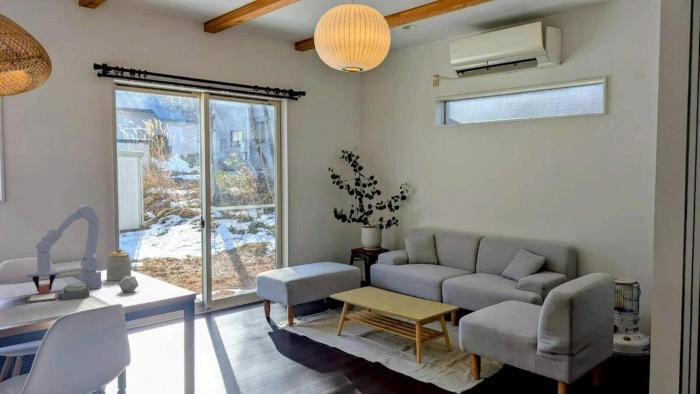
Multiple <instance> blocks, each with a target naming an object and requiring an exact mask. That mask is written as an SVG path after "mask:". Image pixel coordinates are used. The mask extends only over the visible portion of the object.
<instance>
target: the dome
mask: <svg viewBox="0 0 700 394" xmlns="http://www.w3.org/2000/svg"><path fill="white" fill-rule="evenodd" d="M64 288H65V293H66V292H77V291H86V285H85V283H82V282H72V283H67V284H66V285H65V287H64Z"/></svg>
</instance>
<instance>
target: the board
mask: <svg viewBox="0 0 700 394" xmlns="http://www.w3.org/2000/svg"><path fill="white" fill-rule="evenodd" d="M58 296H59V294H58V292H52V293H51V292H50V293H49V294H39V293H38V294H30V295H28V297H27V299H26V304H28V303H29V304H30V303H39V302H42V303H43V302H49V301H57V298H58Z"/></svg>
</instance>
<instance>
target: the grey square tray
mask: <svg viewBox="0 0 700 394" xmlns="http://www.w3.org/2000/svg"><path fill="white" fill-rule="evenodd" d="M89 297H90V289H89V286H86V291H77V292H66V293H65V287H62V288H61V292H60V300H72V299H80V298H89Z"/></svg>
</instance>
